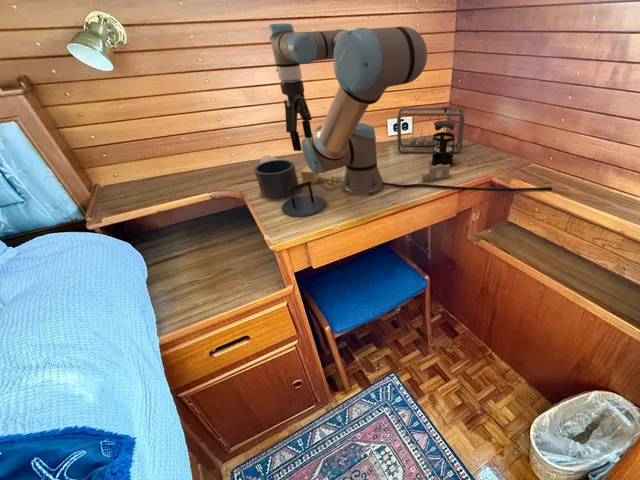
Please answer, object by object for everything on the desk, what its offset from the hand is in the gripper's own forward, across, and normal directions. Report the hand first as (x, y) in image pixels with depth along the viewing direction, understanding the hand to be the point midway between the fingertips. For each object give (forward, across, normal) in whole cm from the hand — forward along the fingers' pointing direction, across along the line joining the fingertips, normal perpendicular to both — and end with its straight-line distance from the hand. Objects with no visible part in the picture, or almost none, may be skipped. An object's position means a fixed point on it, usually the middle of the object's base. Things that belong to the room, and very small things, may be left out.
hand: (303, 144), depth 124 cm
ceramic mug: (+15, -7, -17) cm, 24 cm away
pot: (+15, +10, -9) cm, 20 cm away
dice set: (+15, +2, +9) cm, 18 cm away
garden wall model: (+15, -4, +50) cm, 53 cm away
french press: (+15, -22, +53) cm, 60 cm away
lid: (+14, +22, +4) cm, 27 cm away
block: (+15, 0, 0) cm, 15 cm away
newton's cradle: (+15, -39, +47) cm, 63 cm away
